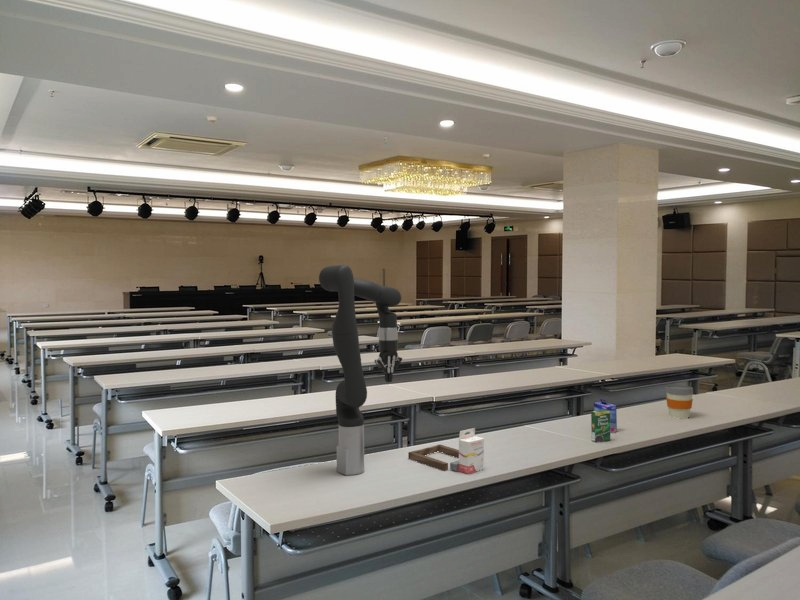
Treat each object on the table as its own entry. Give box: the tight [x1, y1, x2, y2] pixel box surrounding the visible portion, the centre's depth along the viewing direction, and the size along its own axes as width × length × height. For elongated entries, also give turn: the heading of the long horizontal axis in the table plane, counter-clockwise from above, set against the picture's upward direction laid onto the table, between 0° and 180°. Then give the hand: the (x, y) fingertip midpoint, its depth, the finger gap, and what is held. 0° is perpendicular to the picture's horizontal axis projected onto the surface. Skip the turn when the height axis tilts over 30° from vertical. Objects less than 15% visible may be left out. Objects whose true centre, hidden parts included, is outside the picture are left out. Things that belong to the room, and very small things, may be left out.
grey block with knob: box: [449, 459, 459, 472], centre depth 222 cm, size 12×4×10 cm, turn 130°
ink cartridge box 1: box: [458, 427, 485, 475], centre depth 219 cm, size 9×5×15 cm, turn 129°
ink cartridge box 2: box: [593, 398, 618, 434], centre depth 275 cm, size 10×6×14 cm, turn 21°
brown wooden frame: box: [407, 444, 459, 472], centre depth 232 cm, size 17×20×2 cm
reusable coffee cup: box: [665, 384, 694, 419], centre depth 300 cm, size 13×13×15 cm
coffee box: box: [590, 410, 611, 443], centre depth 257 cm, size 8×3×13 cm, turn 108°
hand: (388, 381), depth 240 cm, fingers closed
